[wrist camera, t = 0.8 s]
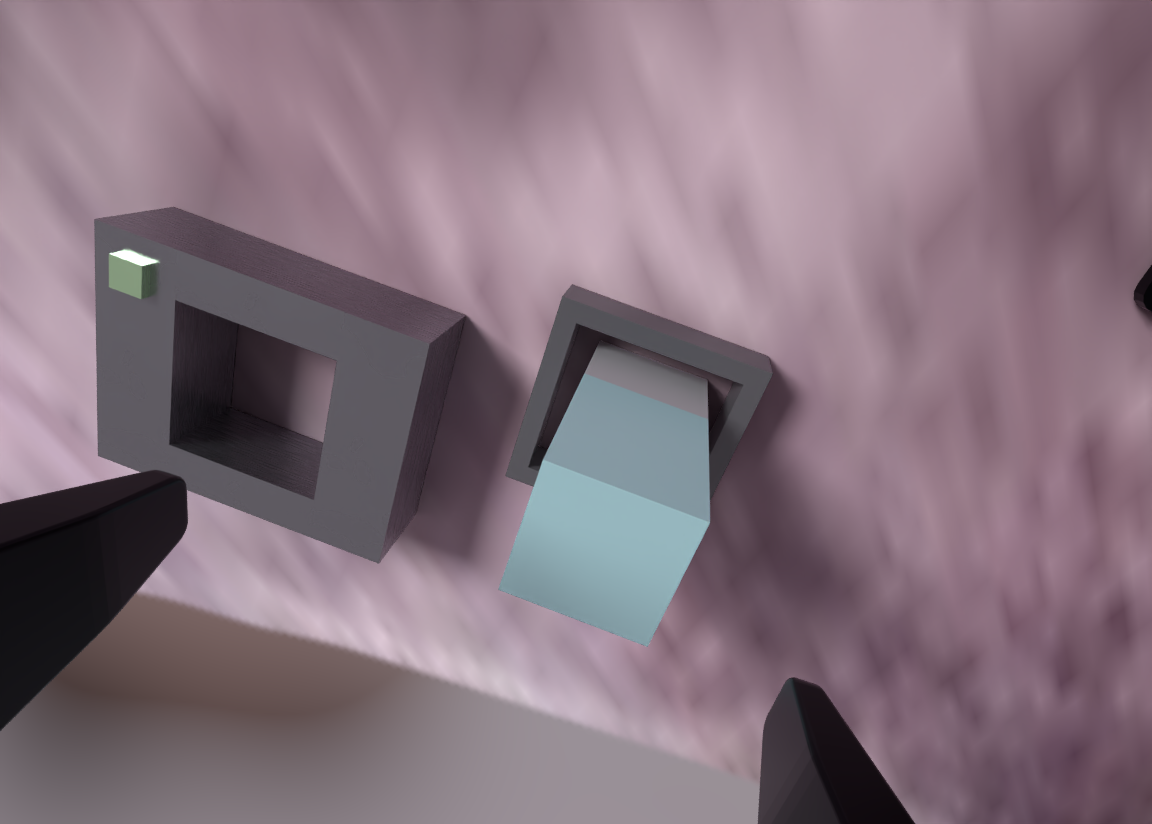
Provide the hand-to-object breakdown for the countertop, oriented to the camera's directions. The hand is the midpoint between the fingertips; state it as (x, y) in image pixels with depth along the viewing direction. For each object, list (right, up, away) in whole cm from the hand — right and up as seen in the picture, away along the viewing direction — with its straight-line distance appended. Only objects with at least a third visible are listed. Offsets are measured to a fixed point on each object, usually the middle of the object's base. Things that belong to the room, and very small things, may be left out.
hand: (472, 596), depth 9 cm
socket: (-8, +4, +13) cm, 16 cm away
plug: (+3, +3, +12) cm, 12 cm away
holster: (+3, +3, +12) cm, 12 cm away
